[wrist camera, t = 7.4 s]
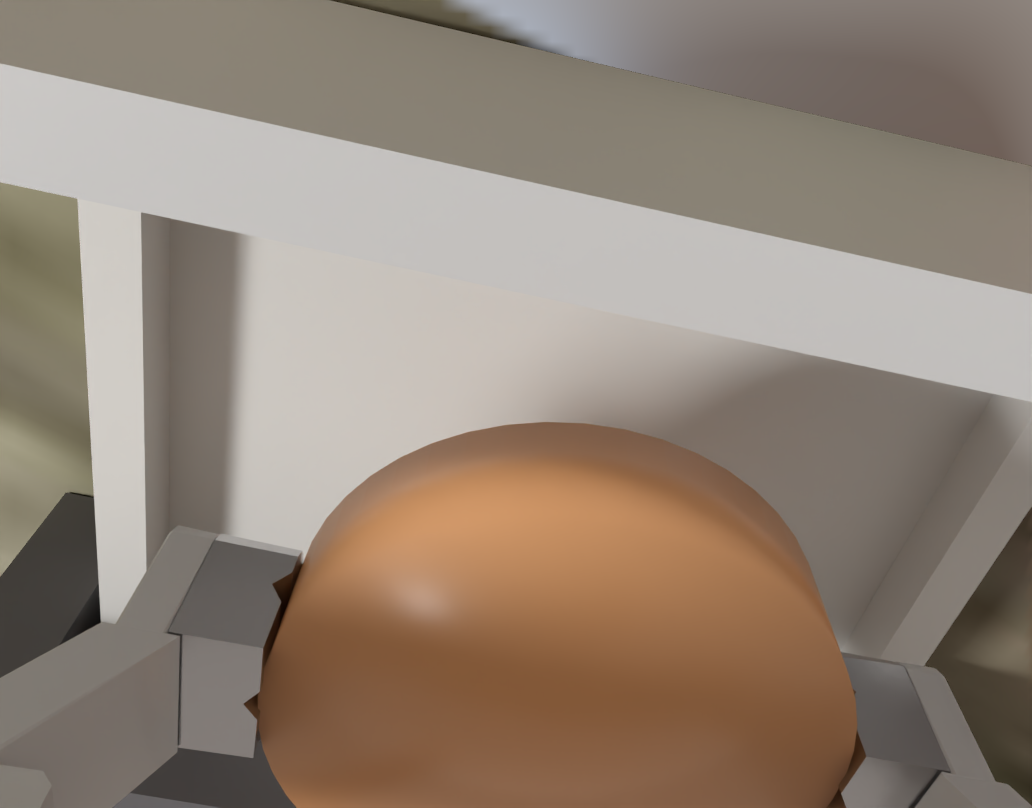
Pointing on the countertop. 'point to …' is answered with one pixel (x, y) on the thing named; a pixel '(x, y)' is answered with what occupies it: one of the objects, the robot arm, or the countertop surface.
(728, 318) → the white drawer
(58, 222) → the countertop surface
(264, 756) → the block
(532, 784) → the peach hemisphere
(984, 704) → the countertop surface
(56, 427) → the countertop surface
